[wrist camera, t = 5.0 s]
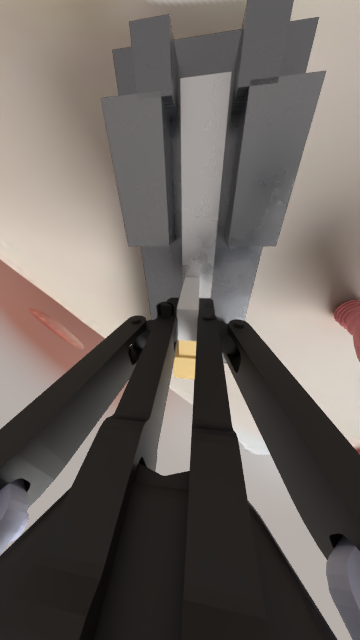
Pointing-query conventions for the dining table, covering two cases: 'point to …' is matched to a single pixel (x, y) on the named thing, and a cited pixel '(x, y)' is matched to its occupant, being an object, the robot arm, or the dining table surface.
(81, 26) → the dining table surface
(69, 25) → the dining table surface
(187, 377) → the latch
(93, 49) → the dining table surface
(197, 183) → the light grey flat bar
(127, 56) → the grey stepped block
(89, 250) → the dining table surface
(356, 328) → the light bulb
